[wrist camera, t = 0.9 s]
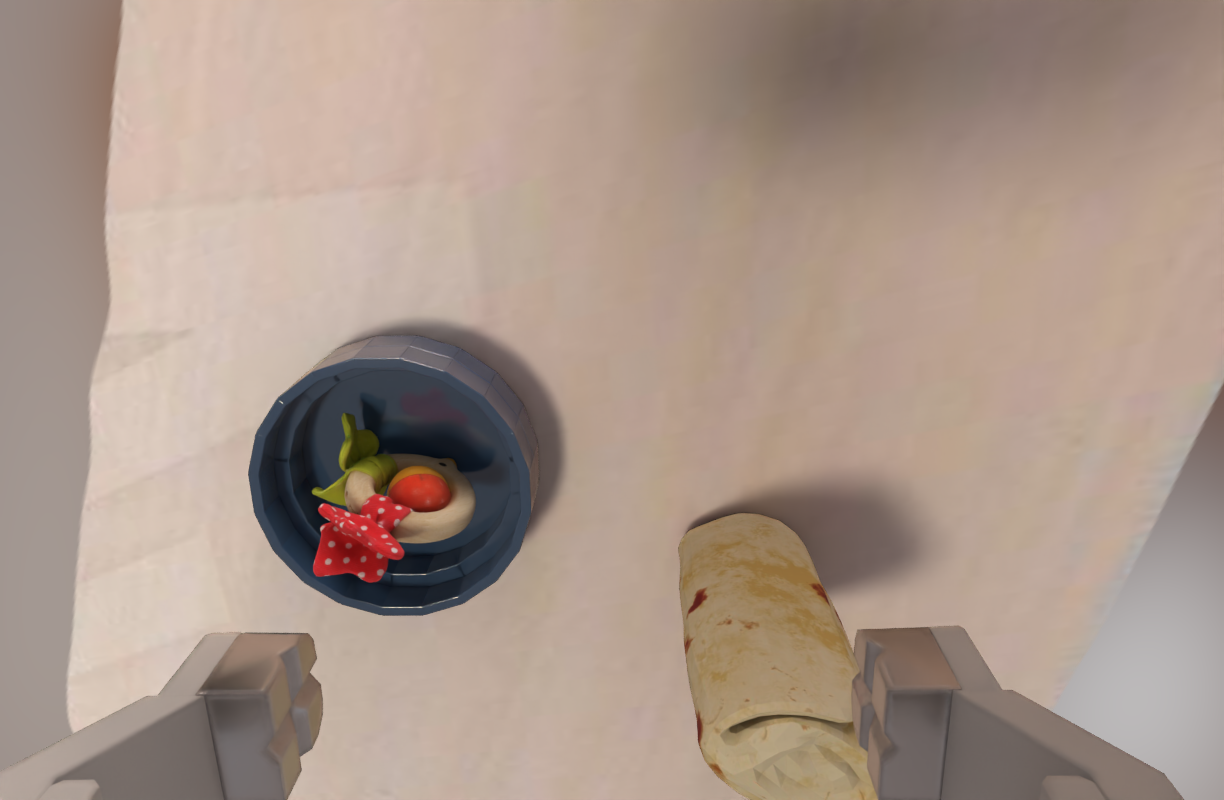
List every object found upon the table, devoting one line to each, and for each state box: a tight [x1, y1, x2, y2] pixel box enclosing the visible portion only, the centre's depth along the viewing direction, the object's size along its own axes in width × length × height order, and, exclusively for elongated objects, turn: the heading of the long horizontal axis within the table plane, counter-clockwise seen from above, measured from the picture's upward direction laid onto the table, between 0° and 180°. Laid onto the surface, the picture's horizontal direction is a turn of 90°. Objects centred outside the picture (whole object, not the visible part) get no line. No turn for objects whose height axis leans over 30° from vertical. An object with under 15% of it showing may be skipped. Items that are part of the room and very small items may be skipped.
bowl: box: [248, 335, 539, 616], centre depth 54 cm, size 16×16×5 cm
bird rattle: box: [312, 413, 476, 583], centre depth 51 cm, size 6×11×9 cm
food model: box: [678, 513, 878, 800], centre depth 48 cm, size 10×7×20 cm
